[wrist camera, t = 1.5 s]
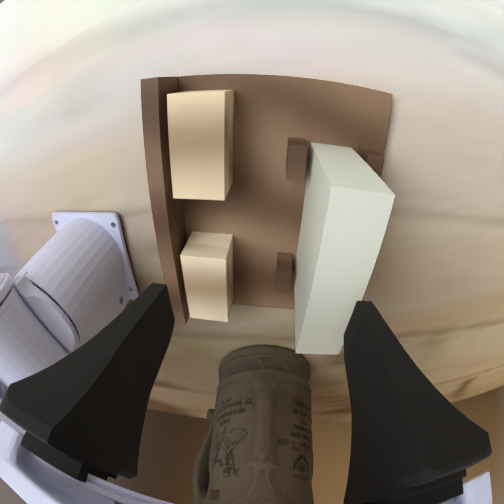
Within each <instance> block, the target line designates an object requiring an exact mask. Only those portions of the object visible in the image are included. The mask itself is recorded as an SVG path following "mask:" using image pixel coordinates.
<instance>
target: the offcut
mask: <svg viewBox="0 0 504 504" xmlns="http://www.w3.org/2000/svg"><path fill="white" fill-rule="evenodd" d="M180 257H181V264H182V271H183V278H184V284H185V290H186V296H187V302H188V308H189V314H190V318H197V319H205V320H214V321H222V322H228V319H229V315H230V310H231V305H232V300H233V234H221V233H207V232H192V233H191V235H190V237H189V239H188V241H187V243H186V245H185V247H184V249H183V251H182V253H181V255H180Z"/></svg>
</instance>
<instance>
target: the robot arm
mask: <svg viewBox="0 0 504 504" xmlns="http://www.w3.org/2000/svg"><path fill="white" fill-rule="evenodd" d="M52 219H53V222H54V226H55V229H56V232H57V233H56V234H55V235H54V236H53V237H52V238H51V239H50V240H49V241H48V242H47V243H46V244H45V245H44V246H43V247H42V248H41V249H40V250H39V251H38V252H37V253H36V254H35V255H34V256H33V257H32V258H31V259H30V260H29V261H28V262H27V263H26V264H25V266H24V267H23V268H22V269H21V270H20V271H19V272H18V273H17V274H16V276H15V277H14V278H12V277H11V276H10V274H9V273H0V477H1V478H2V479H3V480H4V481H5V482H6V483H7V484H8V485H9V486H10V487H11V488H12V489H13V490H14V491H15V492H16V493H17V494H18V495H19V496H20V497H21V498H22V499H23V500H24V501H25V502H26V503H28V504H121V503H122V504H173V503H169V502H165V501H162V500H158V499H155V498H151V497H148V496H145V495H142V494H139V493H136V492H133V491H130V490H128V489H125V488H122V487H120V486H117V485H115V484H112V483H110V482H108V481H107V478H108V476H110V477H112V478H115V479H116V478H117V475H118V474H119V475H121V476H124V477H127V478H129V479H130V478H133V477H135V476H137V467H138V456H139V447H140V440H141V433H142V428H143V423H144V418H145V413H146V409H147V404H148V400H149V396H150V393H151V390H152V387H153V384H154V382H155V379H156V376H157V374H158V371H159V368H160V366H161V363H162V361H163V358H164V356H165V353H166V350H167V348H168V345H169V343H170V339H171V335H172V331H173V327H174V323H175V318H174V314H173V310H172V305H171V301H170V297H169V293H168V288H167V285H165V284H157V283H152V284H151V285H150V286H149V287H148V288H147V289H145V290H144V291H143V292H142V293H141V294H140V295H139V293H138V290H137V286H136V283H135V279H134V276H133V272H132V269H131V265H130V261H129V257H128V253H127V250H126V245H125V241H124V237H123V233H122V228H121V224H120V219H119V216H118V215H117V214H116V213H113V212H59V211H56V212H54V213H53V214H52ZM114 223H115V224H116V225H114ZM129 300H134V301H133V302H132V303H131V304H130V305H129V306H128V307H126V305H127V303H128V301H129ZM125 307H126V308H125ZM344 359H345V366H346V373H347V380H348V387H349V394H350V402H351V412H352V438H351V456H350V465H349V474H348V481H347V487H346V492H345V497H344V504H492V492H491V482H490V473H489V472H486V473H484V474H482V475H479V476H477V477H475V478H473V479H471V480H468V481H466V482H464V483H463V481H462V478H463V477H466V468H468V467H471V466H473V465H474V464H476V463H478V462H480V461H482V460H484V459H486V458H487V457H489V456H490V455H491V453H492V450H491V444H490V439H489V435H488V432H486V431H485V430H483V429H482V428H481V427H479V426H478V425H476V424H475V423H474V422H472V421H471V420H470V419H468V418H467V417H466V416H465V415H463V414H462V413H461V412H460V411H459V410H458V409H456V408H455V407H454V406H453V405H452V404H451V403H450V402H449V401H448V400H447V399H446V398H445V397H444V396H443V395H442V394H441V393H440V392H439V391H438V390H437V389H436V388H435V387H434V386H433V385H432V383H431V382H430V381H429V380H428V379H427V378H426V377H425V375H424V374H423V373H422V372H421V371H420V369H419V368H418V367H417V366H416V364H415V363H414V362H413V360H412V359H411V358H410V356H409V355H408V354H407V352H406V351H405V350H404V348H403V347H402V345H401V344H400V342H399V341H398V340H397V338H396V337H395V335H394V334H393V332H392V331H391V329H390V328H389V326H388V325H387V323H386V322H385V320H384V319H383V317H382V316H381V314H380V313H379V311H378V310H377V308H376V307H375V306H374V304H373V303H372V301H357V302H356V304H355V307H354V310H353V312H352V315H351V318H350V320H349V323H348V325H347V328H346V330H345V333H344Z"/></svg>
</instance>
